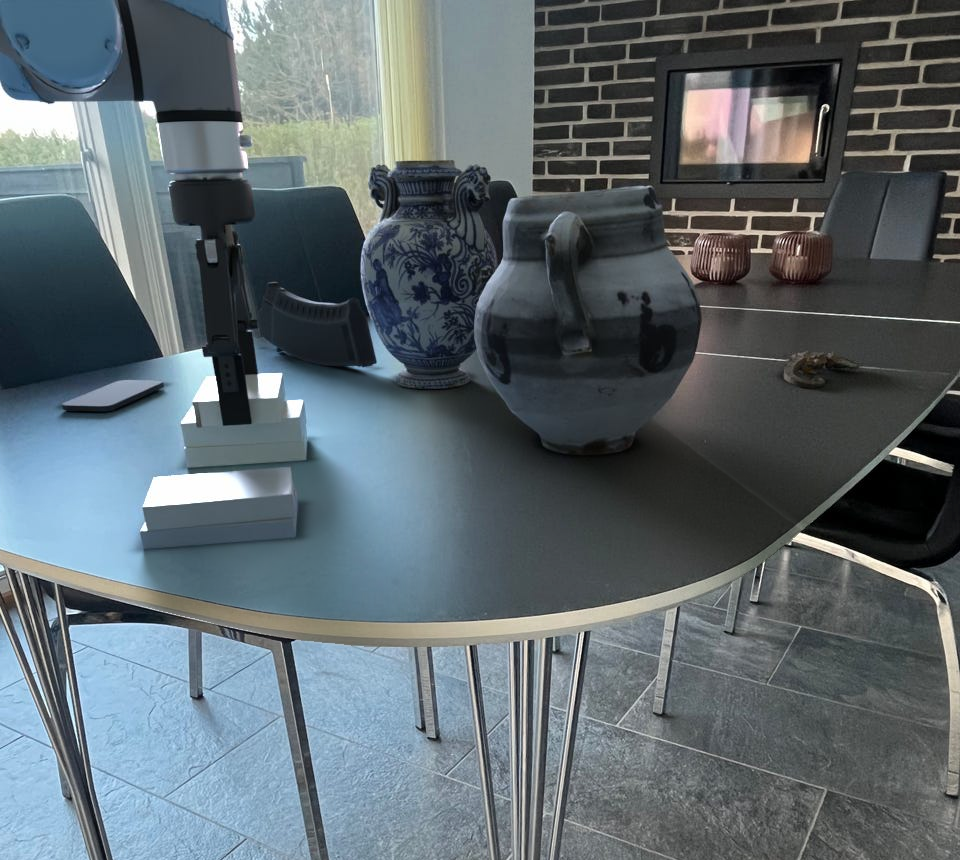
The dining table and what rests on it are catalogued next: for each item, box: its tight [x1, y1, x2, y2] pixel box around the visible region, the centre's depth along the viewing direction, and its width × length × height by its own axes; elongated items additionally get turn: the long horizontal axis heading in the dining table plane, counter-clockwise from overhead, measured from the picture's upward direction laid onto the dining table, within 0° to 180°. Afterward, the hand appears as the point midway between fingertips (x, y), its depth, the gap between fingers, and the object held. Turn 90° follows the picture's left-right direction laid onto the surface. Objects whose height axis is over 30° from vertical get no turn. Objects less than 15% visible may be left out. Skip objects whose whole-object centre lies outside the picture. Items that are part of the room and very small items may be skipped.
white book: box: [191, 372, 286, 427], centre depth 90 cm, size 8×12×2 cm
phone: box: [61, 379, 165, 413], centre depth 119 cm, size 7×1×15 cm
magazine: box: [259, 281, 378, 368], centre depth 138 cm, size 17×3×30 cm
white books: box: [180, 399, 308, 469], centre depth 92 cm, size 12×8×5 cm
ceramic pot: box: [474, 185, 703, 456], centre depth 88 cm, size 29×23×25 cm
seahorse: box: [782, 348, 860, 389], centre depth 122 cm, size 9×16×3 cm, turn 132°
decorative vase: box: [360, 159, 499, 390], centre depth 118 cm, size 21×19×28 cm
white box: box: [139, 466, 299, 550], centre depth 73 cm, size 12×8×4 cm
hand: (243, 408), depth 90 cm, fingers open, 13 cm apart
